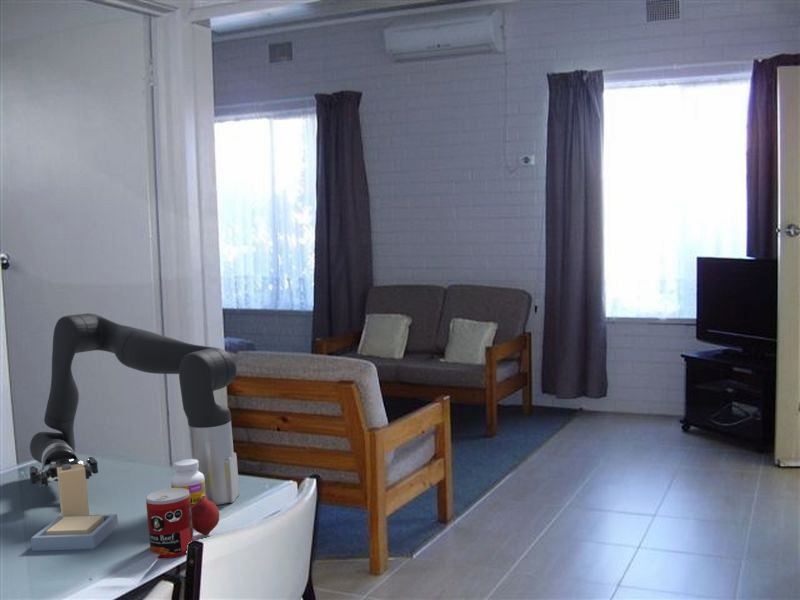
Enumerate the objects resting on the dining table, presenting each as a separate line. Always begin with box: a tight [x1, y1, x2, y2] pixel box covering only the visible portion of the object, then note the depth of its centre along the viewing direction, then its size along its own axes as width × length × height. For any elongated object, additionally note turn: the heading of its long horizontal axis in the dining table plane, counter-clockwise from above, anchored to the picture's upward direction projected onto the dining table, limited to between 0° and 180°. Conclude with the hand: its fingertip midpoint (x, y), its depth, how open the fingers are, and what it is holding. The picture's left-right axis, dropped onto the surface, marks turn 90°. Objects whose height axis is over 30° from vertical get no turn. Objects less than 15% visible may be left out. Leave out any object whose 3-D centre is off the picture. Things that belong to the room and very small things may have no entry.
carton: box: [57, 463, 90, 516], centre depth 185 cm, size 5×5×13 cm
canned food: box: [145, 487, 194, 560], centre depth 166 cm, size 8×8×11 cm
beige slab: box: [46, 514, 104, 536], centre depth 174 cm, size 8×8×3 cm
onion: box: [191, 495, 220, 536], centre depth 174 cm, size 6×6×8 cm
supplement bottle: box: [170, 458, 206, 508], centre depth 181 cm, size 7×7×13 cm
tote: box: [30, 513, 119, 552], centre depth 174 cm, size 12×12×4 cm
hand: (67, 478), depth 195 cm, fingers open, 8 cm apart
